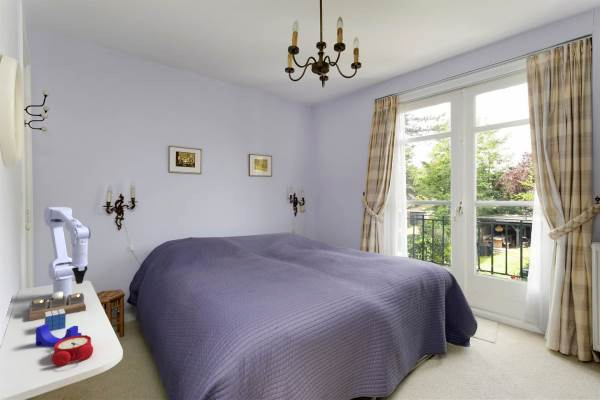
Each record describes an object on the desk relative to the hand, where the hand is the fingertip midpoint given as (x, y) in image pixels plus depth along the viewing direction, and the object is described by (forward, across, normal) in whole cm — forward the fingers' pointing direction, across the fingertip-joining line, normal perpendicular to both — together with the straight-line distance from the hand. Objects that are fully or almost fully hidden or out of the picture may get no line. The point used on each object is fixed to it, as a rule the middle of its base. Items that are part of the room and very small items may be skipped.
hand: (79, 283), depth 137 cm
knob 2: (+7, +4, -2) cm, 8 cm away
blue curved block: (+9, +41, -9) cm, 43 cm away
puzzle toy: (+9, +25, -10) cm, 28 cm away
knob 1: (+7, +4, -14) cm, 16 cm away
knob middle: (+5, +4, -8) cm, 10 cm away
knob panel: (+9, +4, -8) cm, 13 cm away
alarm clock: (+9, +54, -6) cm, 55 cm away
